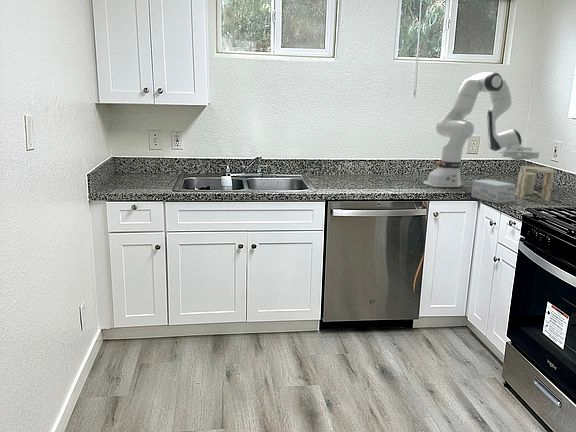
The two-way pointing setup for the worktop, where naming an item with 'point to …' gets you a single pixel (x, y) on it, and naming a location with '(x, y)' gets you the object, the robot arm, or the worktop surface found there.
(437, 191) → the worktop surface
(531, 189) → the can
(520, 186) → the tunnel
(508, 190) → the supplement box
